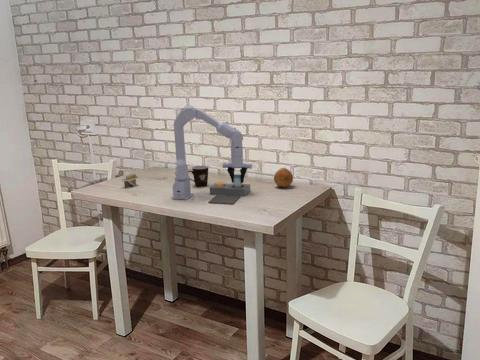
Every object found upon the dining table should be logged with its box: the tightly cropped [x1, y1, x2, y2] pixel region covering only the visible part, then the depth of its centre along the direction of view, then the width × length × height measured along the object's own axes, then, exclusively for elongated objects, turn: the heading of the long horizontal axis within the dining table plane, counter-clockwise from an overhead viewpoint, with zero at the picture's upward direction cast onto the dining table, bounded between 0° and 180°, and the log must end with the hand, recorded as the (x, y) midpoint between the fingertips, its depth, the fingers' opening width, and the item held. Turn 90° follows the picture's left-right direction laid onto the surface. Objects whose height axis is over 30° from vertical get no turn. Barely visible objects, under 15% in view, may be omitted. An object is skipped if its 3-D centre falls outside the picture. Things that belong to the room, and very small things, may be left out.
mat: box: [207, 195, 241, 206], centre depth 215 cm, size 12×12×1 cm
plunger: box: [216, 182, 225, 187], centre depth 228 cm, size 4×4×4 cm
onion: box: [273, 167, 294, 189], centre depth 233 cm, size 10×10×10 cm
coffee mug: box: [188, 165, 209, 188], centre depth 242 cm, size 12×9×10 cm
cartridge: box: [233, 174, 243, 188], centre depth 225 cm, size 4×4×8 cm
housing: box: [209, 182, 251, 197], centre depth 227 cm, size 10×18×4 cm, turn 75°
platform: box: [121, 174, 139, 189], centre depth 245 cm, size 12×18×7 cm, turn 144°
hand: (237, 182), depth 225 cm, fingers closed on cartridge, 4 cm apart
